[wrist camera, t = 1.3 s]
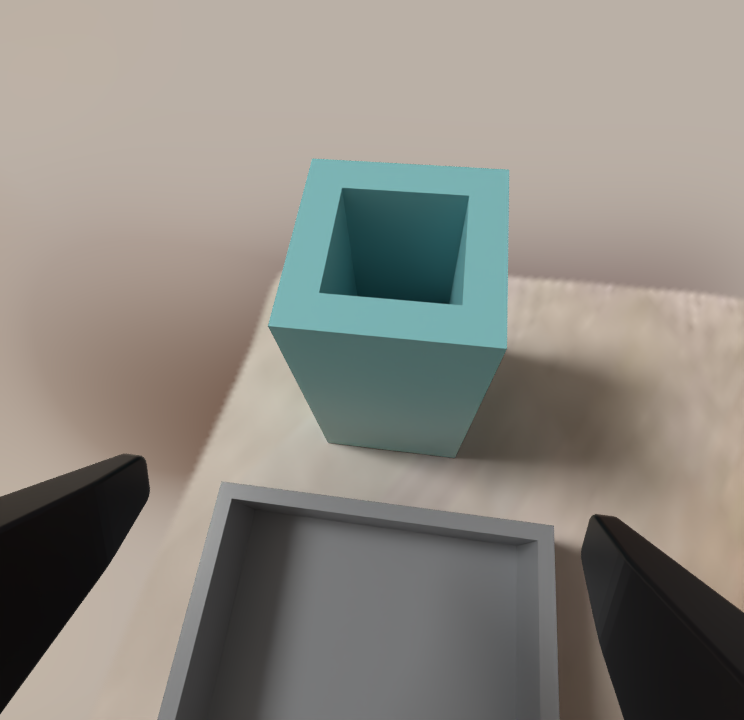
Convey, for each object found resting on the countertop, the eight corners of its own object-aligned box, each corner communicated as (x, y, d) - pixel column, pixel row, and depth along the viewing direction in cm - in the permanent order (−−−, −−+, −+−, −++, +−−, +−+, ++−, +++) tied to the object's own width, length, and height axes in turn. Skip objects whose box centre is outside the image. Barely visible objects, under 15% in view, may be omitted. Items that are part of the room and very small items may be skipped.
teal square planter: (454, 457, 23) (507, 348, 12) (327, 442, 23) (268, 325, 13) (461, 343, 25) (509, 169, 15) (347, 332, 26) (311, 158, 15)
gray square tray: (530, 947, 16) (569, 1059, 12) (161, 864, 17) (97, 942, 13) (526, 534, 21) (553, 525, 17) (249, 496, 22) (221, 481, 19)
